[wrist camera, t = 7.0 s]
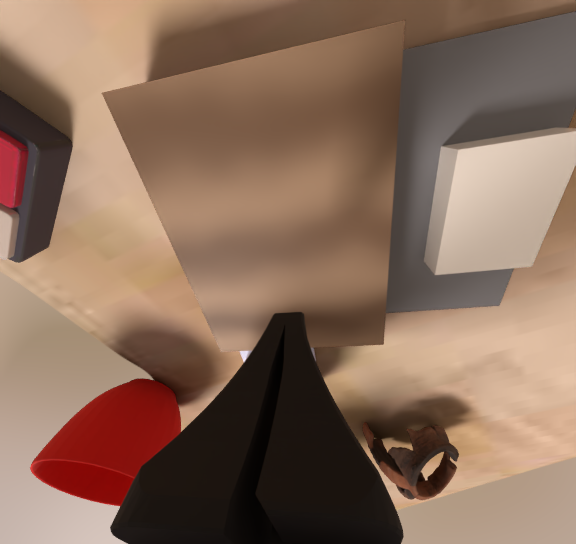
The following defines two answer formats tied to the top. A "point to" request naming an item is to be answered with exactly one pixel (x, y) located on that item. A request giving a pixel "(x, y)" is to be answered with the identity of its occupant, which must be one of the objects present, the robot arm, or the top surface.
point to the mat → (469, 138)
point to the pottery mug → (416, 461)
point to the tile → (497, 200)
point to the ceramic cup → (110, 441)
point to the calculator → (29, 179)
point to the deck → (277, 183)
